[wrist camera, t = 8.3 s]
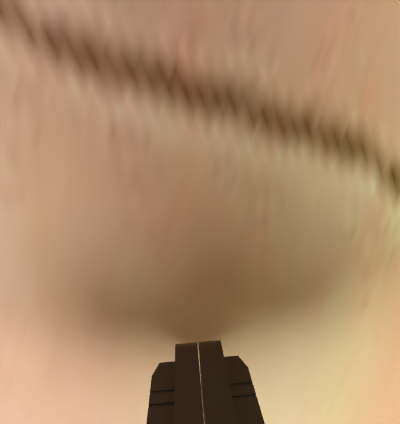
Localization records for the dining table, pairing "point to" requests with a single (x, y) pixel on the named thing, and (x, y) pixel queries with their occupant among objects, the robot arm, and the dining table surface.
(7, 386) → the dining table surface
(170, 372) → the robot arm
